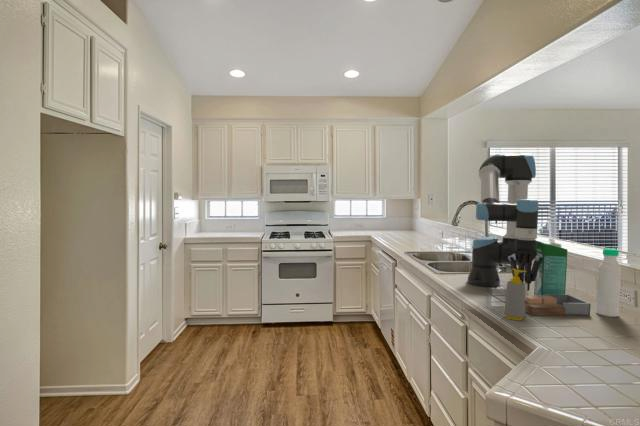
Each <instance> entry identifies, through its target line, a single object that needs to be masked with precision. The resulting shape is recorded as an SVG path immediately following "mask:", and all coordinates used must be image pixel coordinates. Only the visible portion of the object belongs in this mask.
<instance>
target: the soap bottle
mask: <svg viewBox="0 0 640 426" xmlns="http://www.w3.org/2000/svg"><path fill="white" fill-rule="evenodd" d="M512 270H514V274H515V276H513V275H512V278H510V280H509V281H507V282H506V291H505V301H504V311H503V312H504V313H503V314H504V315H505V317H506V319H509V320H513V321H522V320H524V318H525V317H526V311H525V284H524V283H522V282H521V280H520V277H518V273H519V272H524V273H525V272H527V271H525V270H524V271H522V270H518V268H517V269H512ZM512 270H511V271H512Z"/></svg>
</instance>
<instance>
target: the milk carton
mask: <svg viewBox="0 0 640 426" xmlns="http://www.w3.org/2000/svg"><path fill="white" fill-rule="evenodd" d="M536 241H537V249H536V252H537V255H538V256H540V257H542V258H543V260H542V262H541V263H540V266H539V269H538V272H537V276H536V279H535V281H534V284H533V286H534V287H533V288H534V289H533V295H536V296H537V295H544V294H566V286H567V285H566V284H567V267H568V265H567V264H568V249H567V248H564V247H562V246H563V245H562V244H560V243H558V242H557V243H556V242H553V241H551V243H547V242H543V241H540V240H536Z"/></svg>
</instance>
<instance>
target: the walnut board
mask: <svg viewBox="0 0 640 426" xmlns="http://www.w3.org/2000/svg"><path fill="white" fill-rule="evenodd" d="M526 312H527V313H528V314H529V315H531V316H551V317H552V316H554V317H556V316H557V317H560V316H561V317H564V316H566V315H565V308H564V307H562V306H560V305H558V304H543V303H542V304H529V303H527V302H525V313H526Z"/></svg>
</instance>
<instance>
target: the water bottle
mask: <svg viewBox="0 0 640 426" xmlns="http://www.w3.org/2000/svg"><path fill="white" fill-rule="evenodd" d="M619 253H620V252H619V250H618V249H616V248H615V249H614V248H604V249H602V255H603V259H602V260H601V261H600V263H599V264H598V267H597V270H598V273H597V282H596V283H597V284H596V287H597V288H596V289H597V291H596V292H597V295H596V305H595V313H596V314H598V315H600V316H602V317H603V316H604V317H609V318H616V317H619V315H620V303H621V302H620V294H621V286H622V285H621V282H622V276H621V272H622V267H621V265H620V262H619V260H618V259H617V258H618V257H619Z"/></svg>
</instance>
